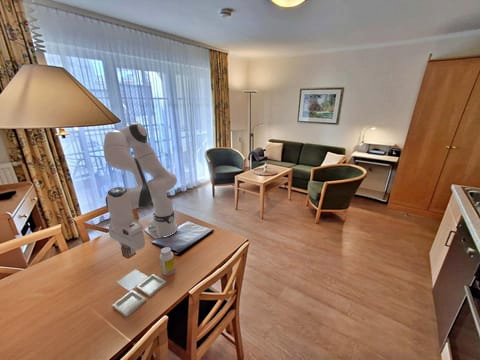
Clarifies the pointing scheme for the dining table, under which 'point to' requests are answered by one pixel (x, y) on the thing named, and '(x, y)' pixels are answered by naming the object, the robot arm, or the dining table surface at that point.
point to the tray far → (129, 303)
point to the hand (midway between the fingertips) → (128, 250)
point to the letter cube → (126, 251)
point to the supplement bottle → (167, 261)
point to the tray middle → (151, 285)
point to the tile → (132, 280)
